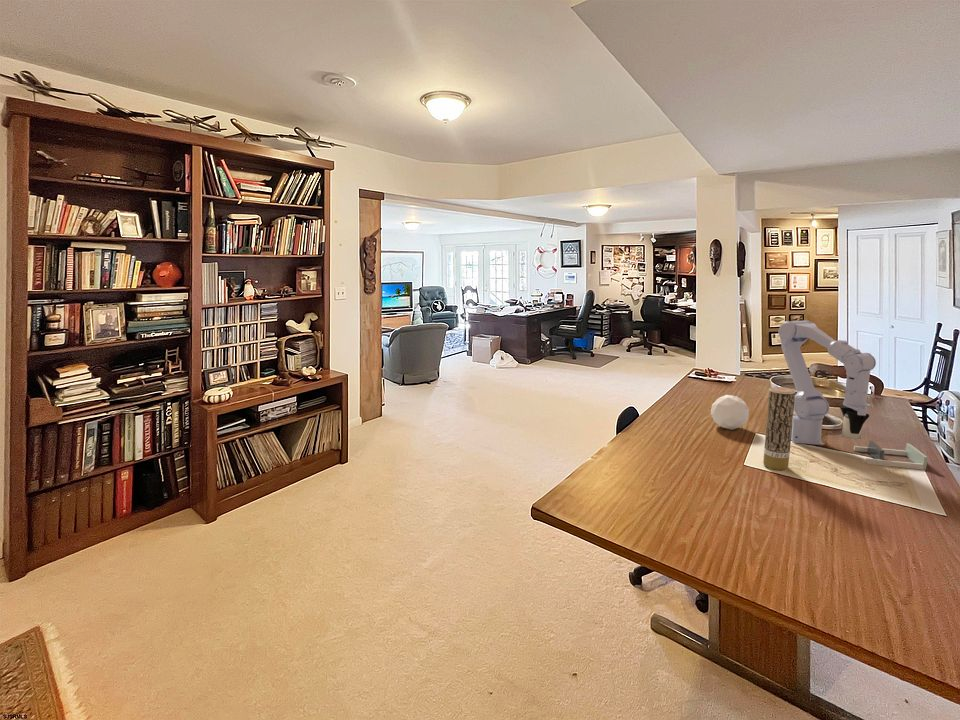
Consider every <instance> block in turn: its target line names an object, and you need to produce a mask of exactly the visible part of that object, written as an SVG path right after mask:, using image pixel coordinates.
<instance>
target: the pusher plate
mask: <svg viewBox="0 0 960 720" xmlns="http://www.w3.org/2000/svg"><path fill="white" fill-rule="evenodd" d="M867 445H868V446H867V447H868V452H867V453H868V454H870V456H871V457H873V459H879V460H884V456H885V454H884V450H883V449H884V448H883V449H882V447H880V445H878V443H876V442H875V441H874V440H868V444H867Z"/></svg>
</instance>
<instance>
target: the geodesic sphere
mask: <svg viewBox="0 0 960 720" xmlns="http://www.w3.org/2000/svg"><path fill="white" fill-rule="evenodd" d="M710 409H711V410H710V416H711V417H712V419H713V422H714V423H716V425H719V427H721V428H723V429H728V430H731V431H733V430H735V429H739V428H741V427H742V426H744V424H745V423H746V422H747V421H748V420H749V417H750V416H749V414H750V408H749V407H748V405H747V404H746V401H744V400H743V399H742V398H740V397H739V396H735V395H733V394H729V393H724V395H723V396H720V397H718V398H717V399H715V401H714V402H713V403H712V404H711V408H710Z"/></svg>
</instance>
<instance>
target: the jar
mask: <svg viewBox="0 0 960 720" xmlns="http://www.w3.org/2000/svg"><path fill="white" fill-rule="evenodd" d="M862 431H863V427H862V428H861V430H860V433H859V434H852V433H851V432H850V422H849V418H848V415H847V413H846V414H845V416H844V418H843V422H842V430H841V436H842V437H843V438H846V439H850V440H860V439H861V438H862Z"/></svg>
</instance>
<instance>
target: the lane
mask: <svg viewBox="0 0 960 720" xmlns="http://www.w3.org/2000/svg"><path fill="white" fill-rule="evenodd" d="M881 448H882V447H881ZM882 449H883V450H884V455H894V456H904V457H907V458H908V459H909V460H910V461H912V462H910V461H909V462H908V461H898V460H888V459H883V460H879V459H875V458H866V459H865V460H866V461H865V464H868V465H876V466H877V465H879V466H887V467H897V468H906V469H916V470H927V464H928V458H929V457H928V456H927V455H926V454H924V452H921V451H920V450H919V449H918V448H917V447H915V446H913V445H912V444H911V443H906V445H905V450H903V449H893V448H882ZM853 451H854V452H862V453H863V452H864V453H868V446H859V445H858V446H857V445H854V446H853Z"/></svg>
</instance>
